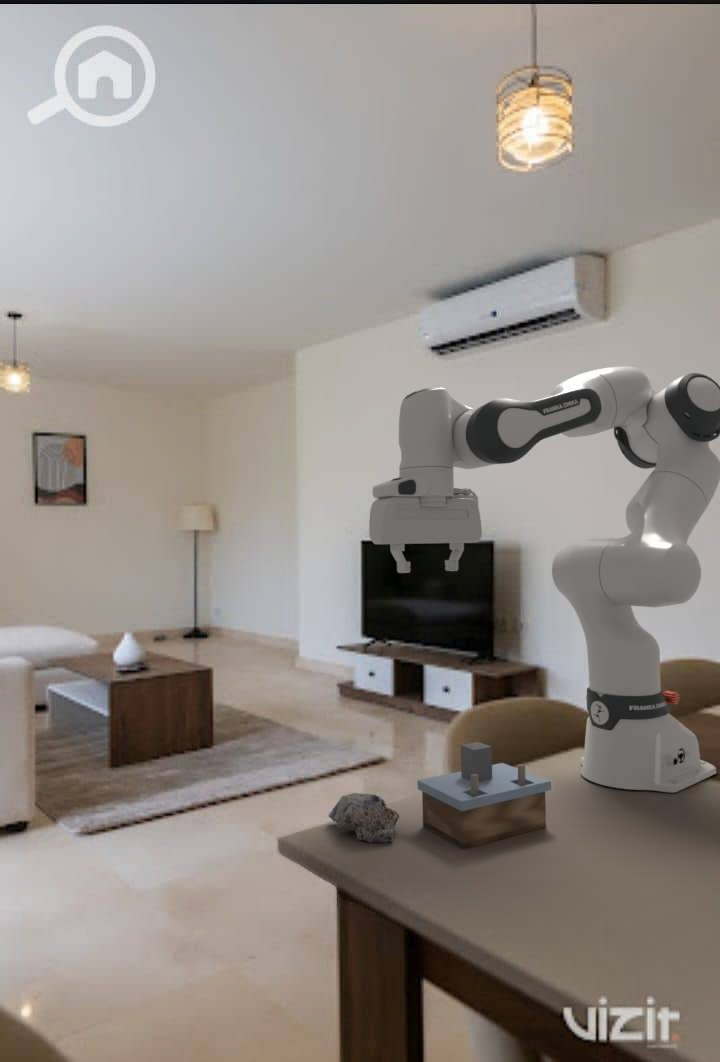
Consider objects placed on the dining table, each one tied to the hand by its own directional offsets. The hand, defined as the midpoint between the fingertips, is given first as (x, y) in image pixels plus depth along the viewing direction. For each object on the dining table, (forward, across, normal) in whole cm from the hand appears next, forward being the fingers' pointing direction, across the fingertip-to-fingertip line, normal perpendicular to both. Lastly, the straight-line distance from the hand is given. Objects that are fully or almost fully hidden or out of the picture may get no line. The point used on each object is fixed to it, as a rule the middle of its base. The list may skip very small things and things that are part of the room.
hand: (428, 571), depth 121 cm
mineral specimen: (+35, +19, +12) cm, 42 cm away
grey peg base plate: (+29, +5, +19) cm, 35 cm away
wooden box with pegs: (+34, +5, +20) cm, 40 cm away
